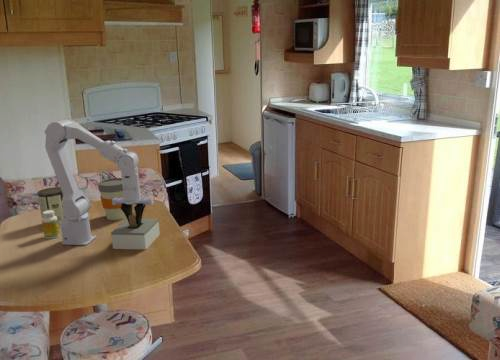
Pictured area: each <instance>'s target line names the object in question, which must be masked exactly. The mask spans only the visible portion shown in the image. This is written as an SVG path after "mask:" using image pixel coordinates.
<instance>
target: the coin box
mask: <svg viewBox="0 0 500 360" xmlns="http://www.w3.org/2000/svg"><path fill="white" fill-rule="evenodd" d="M159 223H160V221H159V218H142V220H141V226H140V227H139V228H138V229H130V225H129V222H128V220H127V219H124V221H123V222H121V224H120V225H118V226H117V227H115V228H114V229H113V230H112V231H111V232H110V234H111V243H112V249H113V250H115V249H116V250H147V249H148V248H149V247H150V246H151V245H152V244H153V243H154V241H156V240H157V238H158V237H159V236H160V233H161V232H160V224H159Z"/></svg>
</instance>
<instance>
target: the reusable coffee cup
mask: <svg viewBox="0 0 500 360" xmlns="http://www.w3.org/2000/svg"><path fill="white" fill-rule="evenodd" d="M98 191H99V193H100V197H99V198H100V201H101V204H102V205H101V206H102V208H103V209H104V212H105V216H106V219H107V220H109V221H121V220H123V219H124V220H125V219H127V218H126V216H125V214H124V212H123V211H122V210H121V206H122V204H116V205H113V204H112V199H114V198H123V197H124V194H123V185H122V177H115V178H106V179H103V180H101V181H99V182H98Z"/></svg>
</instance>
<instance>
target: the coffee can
mask: <svg viewBox="0 0 500 360" xmlns="http://www.w3.org/2000/svg"><path fill="white" fill-rule="evenodd" d="M36 193H37V197H38V203H39V209H40V210H39V211H40V214H41V219H42V218H44V217H43V212H44V211H48V210H53V211H54V214H55V215H54V216H56V217H57V220H58V226H59V228H61V222H62V220H63V219H64V218H65V217H64V215H63V206H62V199H63V193H62V190H61V187H60V186H55V187H48V188H43V189H40V190H38V191H37V192H36Z"/></svg>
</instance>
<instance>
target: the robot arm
mask: <svg viewBox="0 0 500 360" xmlns="http://www.w3.org/2000/svg"><path fill="white" fill-rule="evenodd" d="M44 135H45V141H44V142H45V143H44V144H45V145H44V147H45V151H46V154H47V156H48V159H49V161H50V164H51V166H52V169H53V171H54V174H55V177H56V179H57V182H58V185H59V187H61V190H62V193H63V199H62V206H63V215H64V217H65V218H64V219H63V220H62V222H61V227H60V231H61V235H62V236H61V238H62V242H61V245H63V246H64V245H69V246H70V245H72V246H74V245H75V246H87V245H89V244H90V243H91V242H92V241H93V240H95V239H96V238H97V235H92V231H91V225H90V215H89V211H90V209H91V206H92V205H91V202H90V200H89V198H87V196H86V195H85V193H84V192H83V191H81V190H80V189H79V187H78V183H77V181H76V178H75V175H74V173H73V170H72V168H71V165H70V163H69V160H68V158H67V155H66V152H65V149H64V147H65V146H66V144H67V142H68V140H75V139H76V140H77V139H78V140H80V141H81V142H84V143H85V144H86V145H89V146H91V147H93V148H95V149H97V150H98V153H99V154H100V156H102V157H103V158H105V159H107V160H109V161H111V162H112V163H114V164H115V165H116V166H117V168H118V169H119V171H120V174H121V178H122V185H123V194H124V197H123V198H114V199H112V204H113V205H116V204H122V206H121V210H122V211H123V212H124V214H125V216H126V218H125V219H126V220H128V222H129V215H131V214H132V213H133V209H134V212H135V213H136V218H137V225H140V224H141V220H142V219H143V215H144V214H143V213H144V211H145V208H146V205H149V206H153V205H154V203H155V202H154V198H153V197H152V198H149V197H143V196H141V187H140V179H139V170H138V169H139V168H138V165H139V163H140V157H139V155H138V154H137V153H136V152H135V151H134V150H128V149H127V148H123V147H122V146H119V145H118V144H116V143H117V142H116V141H114V140H105V141H104V140H103V139H101V138H100V137H98V136H97V135H95V134H93V133H92V132H91V131H90V130H87V129H86V128H85V127H83V126H82V125H81V124H80V123H78V122H76V121H74V120H73V119H71V118H67V117H66V118H64V119H63V118H62V119H61V120H58V121H53V122H50V123H48V125H47V127H46V128H45V130H44ZM133 205H135V206H134V207H133ZM129 225H130V224H129Z"/></svg>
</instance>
